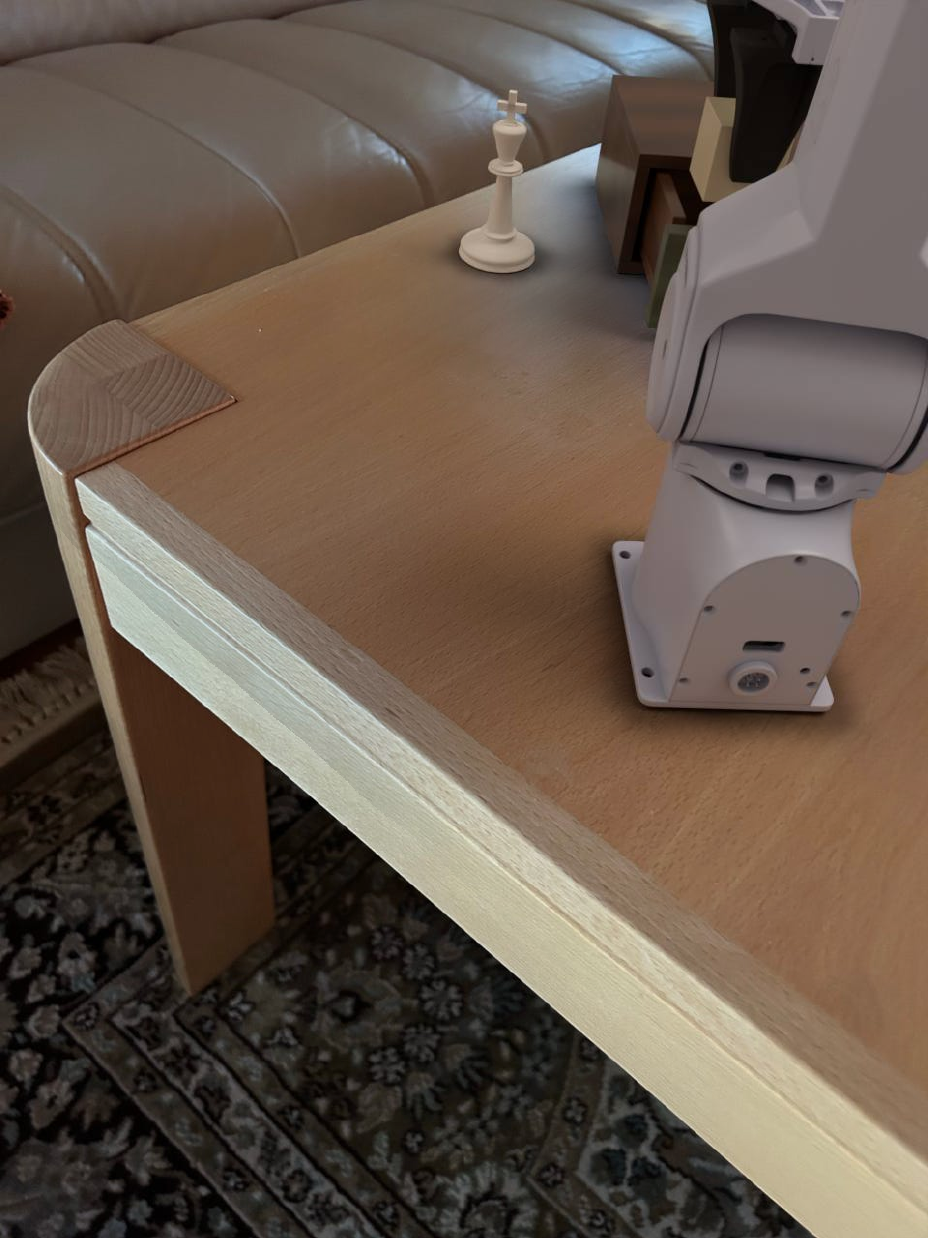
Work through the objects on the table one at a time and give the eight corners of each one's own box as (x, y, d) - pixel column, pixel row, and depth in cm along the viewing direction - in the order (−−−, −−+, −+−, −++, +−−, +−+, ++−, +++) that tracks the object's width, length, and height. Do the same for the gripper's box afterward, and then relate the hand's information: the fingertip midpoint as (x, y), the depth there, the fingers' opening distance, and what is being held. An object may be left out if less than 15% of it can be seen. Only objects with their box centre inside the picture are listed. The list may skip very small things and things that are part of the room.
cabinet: (806, 284, 67) (846, 166, 61) (616, 273, 66) (639, 153, 60) (762, 195, 76) (793, 86, 70) (594, 185, 75) (612, 73, 69)
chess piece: (528, 278, 64) (549, 112, 57) (451, 265, 65) (463, 99, 58) (539, 243, 68) (560, 83, 61) (467, 231, 68) (479, 70, 61)
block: (774, 206, 55) (797, 130, 53) (702, 201, 55) (721, 124, 52) (757, 174, 58) (778, 100, 55) (689, 170, 58) (706, 95, 55)
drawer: (859, 383, 57) (899, 288, 53) (659, 373, 56) (683, 275, 52) (788, 242, 69) (815, 155, 64) (620, 232, 68) (637, 143, 64)
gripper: (702, -183, 51) (647, 105, 60) (771, -113, 41) (691, 218, 50) (841, -171, 51) (763, 113, 61) (942, -99, 41) (830, 226, 51)
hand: (739, 162), depth 56 cm, fingers closed on block, 4 cm apart
